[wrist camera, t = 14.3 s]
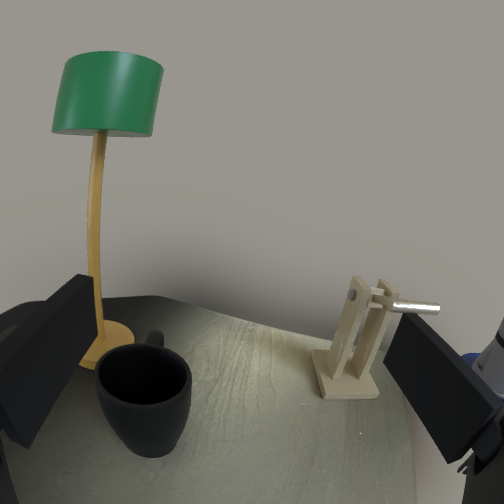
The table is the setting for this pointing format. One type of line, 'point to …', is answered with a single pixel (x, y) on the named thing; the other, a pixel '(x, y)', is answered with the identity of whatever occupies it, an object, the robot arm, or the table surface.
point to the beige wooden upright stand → (339, 357)
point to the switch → (400, 304)
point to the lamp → (100, 126)
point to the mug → (145, 394)
